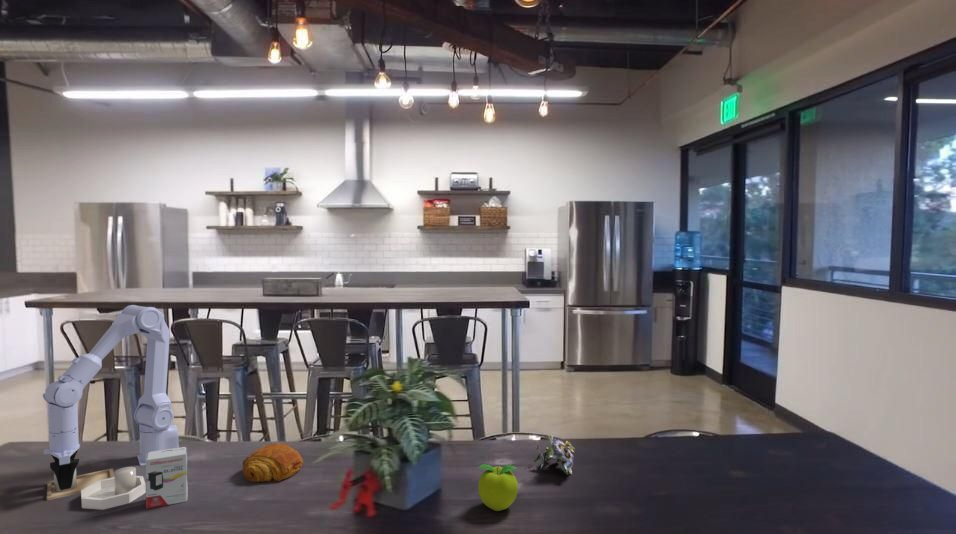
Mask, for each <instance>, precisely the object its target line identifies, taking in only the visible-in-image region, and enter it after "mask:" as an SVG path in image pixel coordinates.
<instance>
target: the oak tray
mask: <svg viewBox="0 0 956 534" xmlns="http://www.w3.org/2000/svg"><path fill="white" fill-rule="evenodd" d="M114 472H115V471H114V469H113V468H107V469H103V470H99V471H93V472H89V473H85V474H79V475H76V477H77V486H76V487H75V488H74V489H72V490H69V491H65V492H55V488H54V480H51V481H47V489H46V501H52V500H55V499H60V498H64V497H70V496H74V495H78V494H81V490H82V489H84V488H86V487H88V486H90V485H92V484H93V483H95V482H97V481H99V480H104V479H108V478H113V477H114Z"/></svg>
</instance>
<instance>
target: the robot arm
mask: <svg viewBox="0 0 956 534" xmlns="http://www.w3.org/2000/svg"><path fill="white" fill-rule="evenodd" d="M170 331H171V330H170V329H169V327H168V325H167V323H166V321H165V314H164V313H163V312H161V311H160V310H159V309H157V307H153V306H141V305H136V304H131V305H130V304H129V305H127V306H126V307H124V308H123V309H122V311H121V312H120V313H119V314H117V316H115V318H114V320H113V322H112V323H111V326H110V327H109V328H108V329H107V330H106V331H105V333H104V334H103V335H102V336H101V338H100V339H99V340H98V341H97V343H95V345H94V347H92V348H91V350H90V351H89V353H84V354H81V355H79V356H78V357H74V358H73V359H72V360H71V363H72V364H70V366H69V367H67V369H66V371H65V372H64V373H63V374H61V375H59V376H57V380H55V381H54V382H51V383H50V384H49V385H48V386H46V388H45V390H44V393H43V394H42V398H43V400H44V401H45V402H47V404H48V435H49V436H48V437H49V440H48V441H49V448H46V449H43V455H50V456H51V458H53V460H54V461H53V462H50V463H49V468H50V469H51V471H52V472H53V474H54V473H55V475H56V478H57V481H58V485H59V488H60V490H65V489H69V488H71V486H72V482H73V476H74V472H75V469H76V470H77V467H78V465H79V462H80V458H76V455H77V453H78V451H79V449H80V448H81V444H80V442H79V440H80V439H79V417H78V415H79V414H78V412H79V411H78V402H79V401H80V400H81V399H82V397H83V394H84V393H83V390H84V389H85V388H86V387H87V385H88V384H89V383H90V382H91V380H92V379H94V377H95V376H96V375H97V374H98V373H99V371H100V370H102V368H103V367H102V363H103V362H102V361H103V360H104V358H106V356H107V355H108V354H110V352H111V351H113V349H115V347H117V345H118V344H120V342H121V341H122V340H123V339H124V338H126V337H128V336H131V335H136V334H141V335H142V336H143V337H144V338H146V339H147V340H146V354H145V355H146V356H145V368H144V369H145V371H144V372H145V373H144V384H143V385H144V387H143V394H142V396H141V397H139V399H138V404H137V407H136V408H135V411H134V414H133V418H134V421H135V422H136V423H137V424H138V427H139V454H138V455H137V456H136V457H137V459H138V463H139V466H141V467H143V466H146V454H147V453H149V452H152V451H159V450H166V449H173V448H180V445H179V443H180V442H179V430H178V425H177V424H173V422H174V417H175V413H174V410H173V408H172V401H171V399H170V397H169V396H168V394H167V384H168V383H167V381H168V369H169V368H168V367H169V353H170V336H171V335H170V334H171V332H170Z"/></svg>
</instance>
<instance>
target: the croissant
mask: <svg viewBox="0 0 956 534" xmlns="http://www.w3.org/2000/svg"><path fill="white" fill-rule="evenodd" d="M303 464H304V460H303V457H302V456H301V454H300V453H299V452H298V450H296V449H294V448H293V447H291V446H290V445H289V444H287V443H279V442H274V443H273V442H272V443H270V444H266V445H263V446H261V447H260V448H259V449H257V450H254V451H253V452H252V453H250V454H249V455H248V456H246V457H245V459H244V460H243V462H242V474H243V476H244V478H245V479H246V480H247V481H249V482H256V483H258V482H262V483H263V482H280V481H283V480H285V479H288V478H290V477H292V476H294V475H296V473H298V472H299V471H300V470H301V468H302V467H303Z"/></svg>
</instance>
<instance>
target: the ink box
mask: <svg viewBox="0 0 956 534" xmlns="http://www.w3.org/2000/svg"><path fill="white" fill-rule="evenodd" d="M145 487H146V493H145V504H146V505H145V506H146V507H145V508H146V509H147V510H149V509H152V508H159V507H163V506H168V505H174V504H179V503H185V502H187V501H188V497H189V496H188V494H189V493H188V491H189V490H188V448H187V447H186V446H182V447H181V446H179V448H173V449H166V450H159V451H152V452H149V453H147V454H146V465H145Z"/></svg>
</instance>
